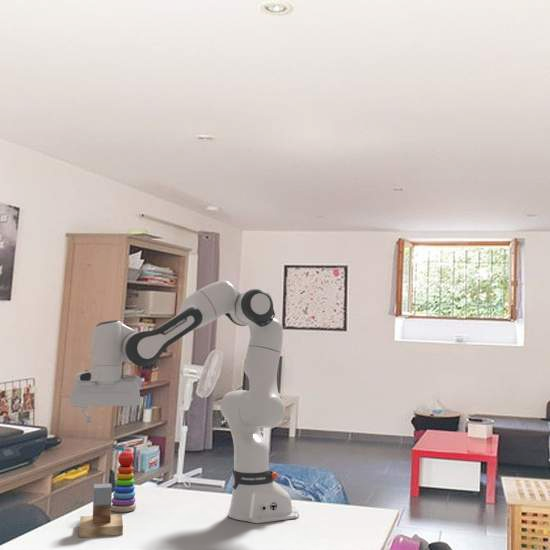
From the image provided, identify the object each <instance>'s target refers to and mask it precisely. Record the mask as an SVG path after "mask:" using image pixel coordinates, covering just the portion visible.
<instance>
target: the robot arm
mask: <svg viewBox="0 0 550 550" xmlns="http://www.w3.org/2000/svg"><path fill="white" fill-rule="evenodd" d="M223 315H225V316H226V317H227V318H228V319H229V321H230V322H232V323H233V324H235V325H237V326H240V327H246V326H248V328H249V333H250V335H249V341H248V345H247V349H246V354H245V359H244V364H243V373H244V374H245V376H247V378H248V386H249V388H248V389H249V390H244V389H237V390H232V391H229V392H227V393H225V394H224V395H223V396H222V398H221V402H220V413H221V415H222V416H223V418H224V419H225V421H226V422H227V424H228V426H229V430H230V433H231V438H232V442H233V469H232V473H231V475H232V476H231V486H232V493H231V501H230V506H229V510H228V512H227V516H228V517H230V518H231V519H234V520H238V521H244V522H249V523H253V524H262V523H270V522H276V521H283V520H284V521H285V520H293V519H297V518H299V516H300V514H299V510H298V508H296V507H294V506H293V503H292V499H291V495H290V494H289V493H288V491H286V490H285V489H284V488H283V487H282V486H280V484H279V483H277V482H276V481H275V480H278V478H279V474H278V473H277V472H276V471H273V470H271V469H270V468H269V448H270V447H269V444H268V442H267V441H266V439H265V438H264V437H263V434H262V432H261V429H260V428H262V429H266V428H267V429H268V428H274V427H277V426H279V425H281V424H282V422H283V420H284V419H285V416H286V405H285V403H284V401H283V399H282V398H281V396H280V393H279V389H278V382H277V381H278V379H277V376H278V369H279V364H280V358H281V354H282V353H281V352H282V348H283V340H284V339H283V338H284V328H283V324H282V322H280V320H279V319H276V318H275V315H276V313H275V309H274V302H273V298H272V297H271V295H270V293H268V292H267V291H266V290H263V289H260V288H259V289H258V288H253V289H249V290H245V291H243V292H239V291H237V289H236V287H235V286H234V285H233V284H232V283H231V282H229V281H228V280H225V279H220V280H218V281H215V282H212V283H210V284H207V285H206V286H203V287H202V288H200V289H198V290H196V291H194V292H193V293H191V294H190V295H188V296H187V297H186V298H185V299H184V300H183V301H182V302H181V303H180V306H179V311H178V313H177V314H176V315H175V316H174V317H172V318H171V319H169V320H168V321H166V322H164V323H163V324H161V325H159V326H158V327H156V328H155V329H152V330H147V331H139V330H136V329H134V328H132V327H130V326H127V325H125V323H123V322H122V321H121V320H118V319H117V320H116V319H115V320H108V321H102V322H99V323H98V324H96V325H95V327H94V329H93V334H92V346H91V350H92V351H91V352H92V356H93V357H92V361H91V367H90V369H86V370H84V371H81V372H78V373H77V374H76V375H75V376H74V377H75V378H74V379H75V381H76V382H75V383H74V384H72V387H71V390H70V392H71V393H70V399H69V405H70V406H71V407H73V408H79V407H80V408H81V412H82V413H83V415H84V417H85V423H92V416H91V415H89V414H88V413H87V411H88V407H89V408H90V407H92V408H93V407H94V408H95V407H122V410H123V411H122V413H121V414H118V422H124V421H125V420H124V419H125V415H126V414H127V412H128V409H129V407H137V406H139V405H140V404H141V395H140V394H141V392H140V390H141V388H142V378H141V377H140V376H138V375H137V374H122V372H123V370H122V368H123V362H125V361H126V362H128V363H131V364H134V365H136V366H139V367H148V366H151V365H153V364H155V363H156V362H157V361H158V360H159V358H160V357H161V356H162V354H163V353H164V352H165V350H166V349H167V348H168V347H169V346H171V345H173V343H175V342H176V341H178V340H179V339H181V338H182V337H184V336H185V335H187V334H188V333H190V332H192V331H195V330H198V329H200V328H202V327H204V326H207V325H208V324H210V323H213V322H214V321H215V320H217V319H219V318H220V317H222V316H223Z"/></svg>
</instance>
